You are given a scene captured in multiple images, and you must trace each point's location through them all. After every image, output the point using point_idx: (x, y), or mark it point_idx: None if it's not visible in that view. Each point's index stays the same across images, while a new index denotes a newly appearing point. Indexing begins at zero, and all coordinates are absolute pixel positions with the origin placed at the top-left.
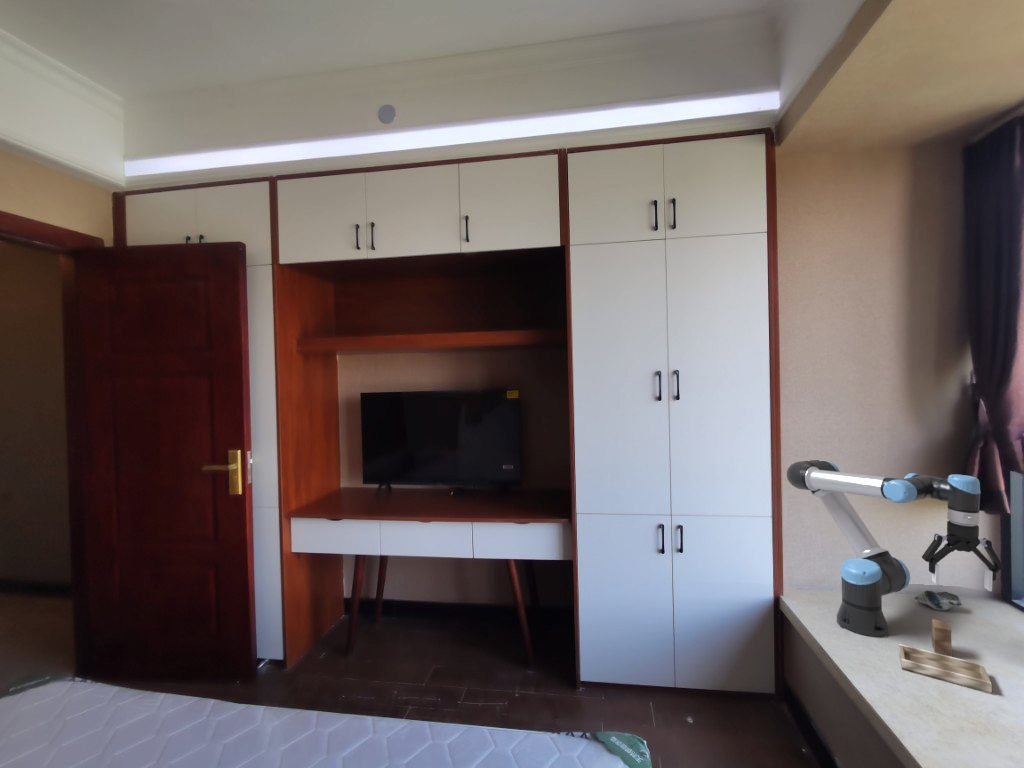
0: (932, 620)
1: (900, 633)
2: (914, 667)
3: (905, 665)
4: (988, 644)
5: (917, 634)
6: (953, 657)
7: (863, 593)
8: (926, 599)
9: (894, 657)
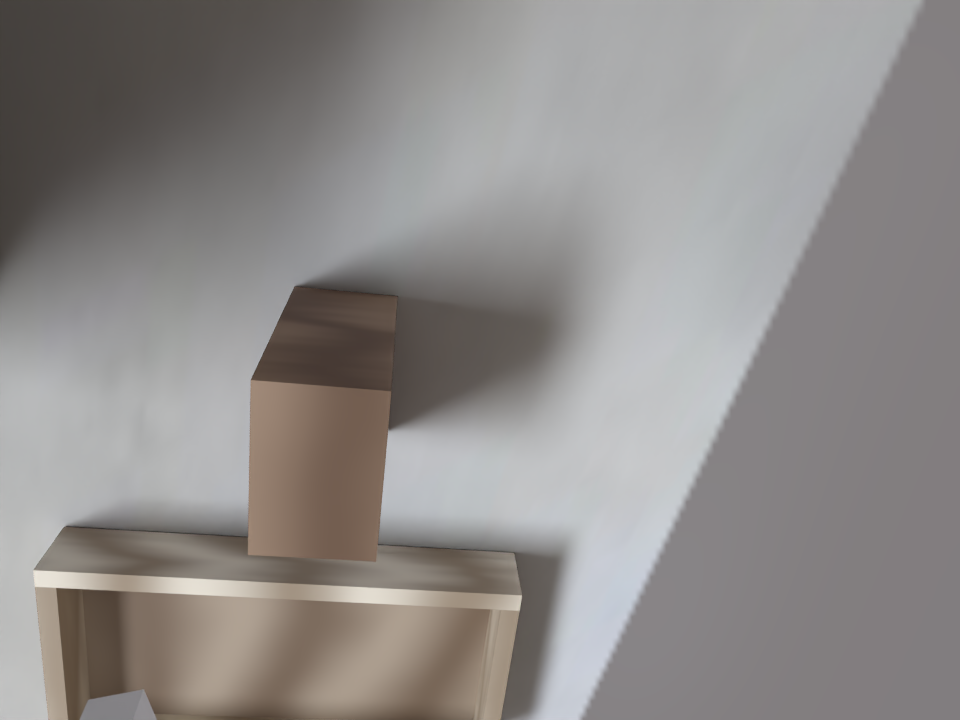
0: (250, 417)
1: (71, 176)
2: None
3: None
4: (734, 31)
5: (205, 121)
6: (365, 589)
7: None
8: None
9: None
